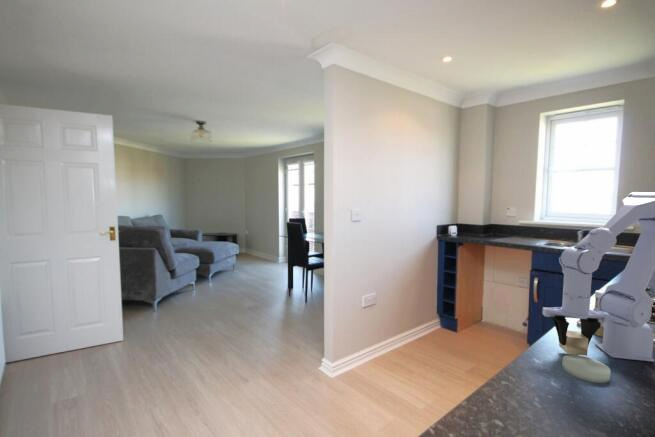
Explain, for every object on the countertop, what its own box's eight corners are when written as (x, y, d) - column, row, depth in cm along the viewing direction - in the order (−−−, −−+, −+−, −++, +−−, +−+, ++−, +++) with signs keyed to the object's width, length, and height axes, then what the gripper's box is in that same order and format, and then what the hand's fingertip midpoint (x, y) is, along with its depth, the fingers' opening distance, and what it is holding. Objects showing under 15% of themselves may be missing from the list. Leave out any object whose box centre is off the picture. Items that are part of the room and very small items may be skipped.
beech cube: (577, 347, 88) (579, 331, 88) (587, 355, 84) (588, 338, 84) (559, 345, 89) (560, 329, 89) (567, 353, 85) (568, 336, 85)
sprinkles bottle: (613, 335, 99) (617, 292, 98) (608, 339, 97) (612, 295, 96) (595, 330, 103) (598, 288, 102) (589, 333, 100) (592, 291, 99)
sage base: (596, 365, 82) (596, 357, 82) (619, 385, 73) (619, 376, 73) (555, 360, 84) (556, 353, 84) (573, 380, 75) (573, 371, 75)
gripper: (551, 296, 83) (548, 348, 84) (618, 301, 80) (614, 355, 81) (540, 289, 90) (537, 336, 91) (601, 292, 87) (598, 342, 88)
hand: (573, 344), depth 86 cm, fingers closed on beech cube, 4 cm apart
